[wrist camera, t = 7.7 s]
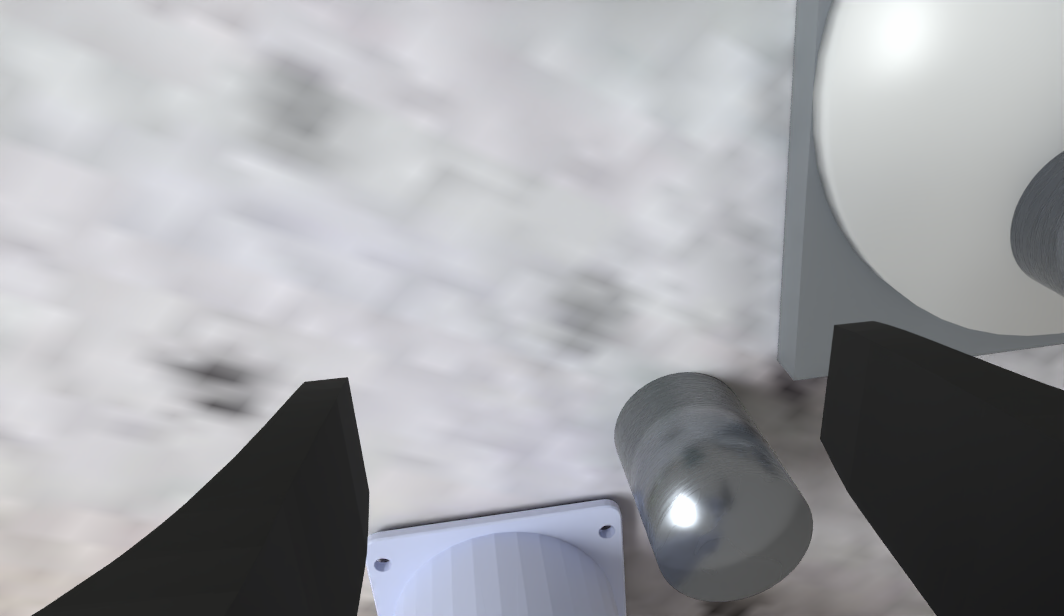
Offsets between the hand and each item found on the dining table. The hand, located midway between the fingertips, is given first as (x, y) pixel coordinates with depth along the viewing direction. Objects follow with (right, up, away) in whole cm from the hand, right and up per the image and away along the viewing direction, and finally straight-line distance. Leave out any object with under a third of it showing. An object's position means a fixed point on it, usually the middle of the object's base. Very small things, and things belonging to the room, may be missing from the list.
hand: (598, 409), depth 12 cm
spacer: (+3, -2, +12) cm, 13 cm away
